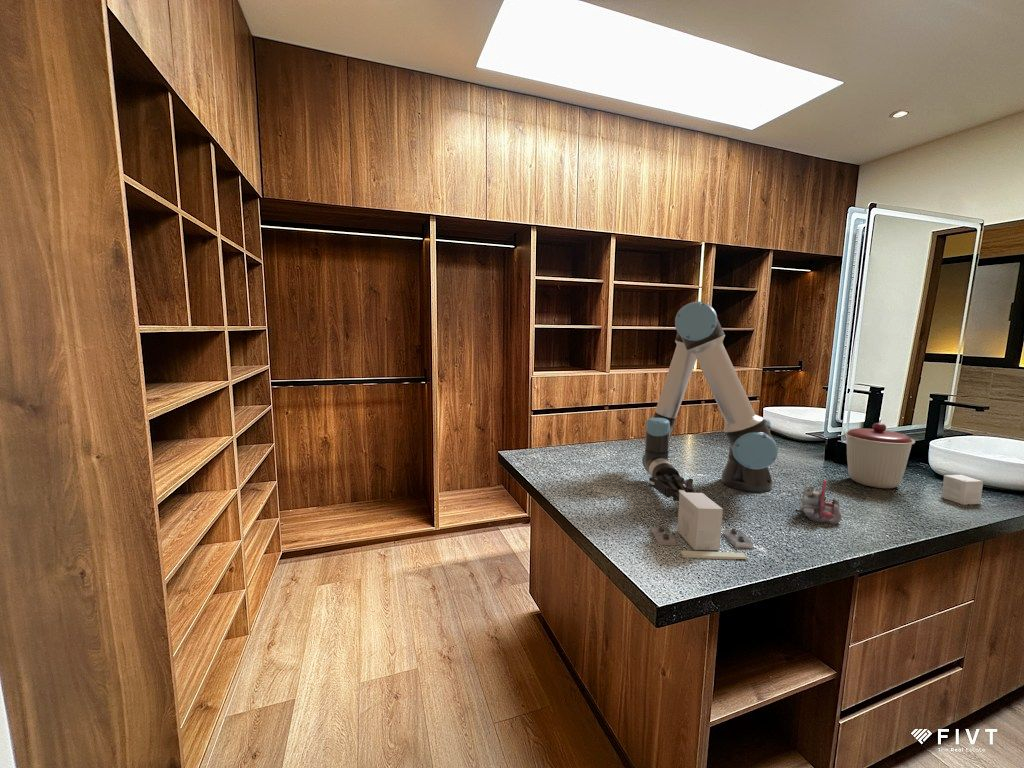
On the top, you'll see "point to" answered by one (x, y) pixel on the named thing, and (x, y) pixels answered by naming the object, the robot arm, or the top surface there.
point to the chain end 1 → (663, 536)
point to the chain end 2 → (738, 538)
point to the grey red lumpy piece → (820, 506)
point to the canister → (877, 456)
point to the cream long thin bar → (713, 555)
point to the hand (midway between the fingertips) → (689, 504)
